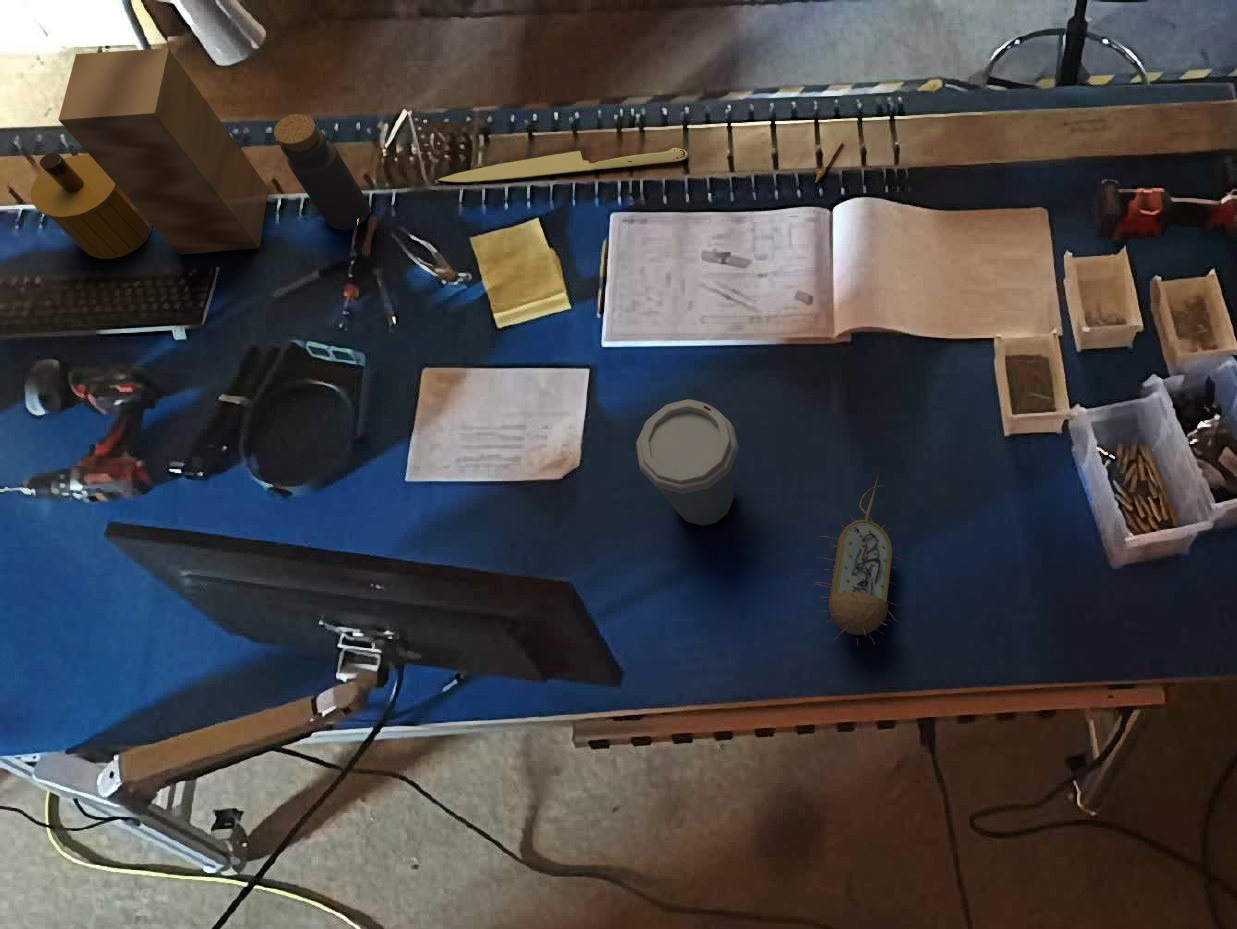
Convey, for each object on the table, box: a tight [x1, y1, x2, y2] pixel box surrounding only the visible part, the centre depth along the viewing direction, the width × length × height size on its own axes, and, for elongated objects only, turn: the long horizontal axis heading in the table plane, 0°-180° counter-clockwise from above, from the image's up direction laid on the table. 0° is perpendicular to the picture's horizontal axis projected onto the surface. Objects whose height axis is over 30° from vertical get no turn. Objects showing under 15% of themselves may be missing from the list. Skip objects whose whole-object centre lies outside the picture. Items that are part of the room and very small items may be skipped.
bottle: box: [273, 113, 371, 231], centre depth 133 cm, size 6×6×15 cm
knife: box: [437, 147, 689, 183], centre depth 144 cm, size 1×34×5 cm
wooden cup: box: [48, 187, 154, 260], centre depth 134 cm, size 9×9×8 cm
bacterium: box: [815, 467, 903, 647], centre depth 116 cm, size 11×20×10 cm, turn 174°
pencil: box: [814, 170, 826, 184], centre depth 145 cm, size 1×9×1 cm, turn 157°
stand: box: [58, 47, 270, 255], centre depth 128 cm, size 10×10×23 cm
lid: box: [30, 152, 118, 219], centre depth 128 cm, size 10×10×5 cm
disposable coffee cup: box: [635, 398, 739, 526], centre depth 117 cm, size 11×11×15 cm
